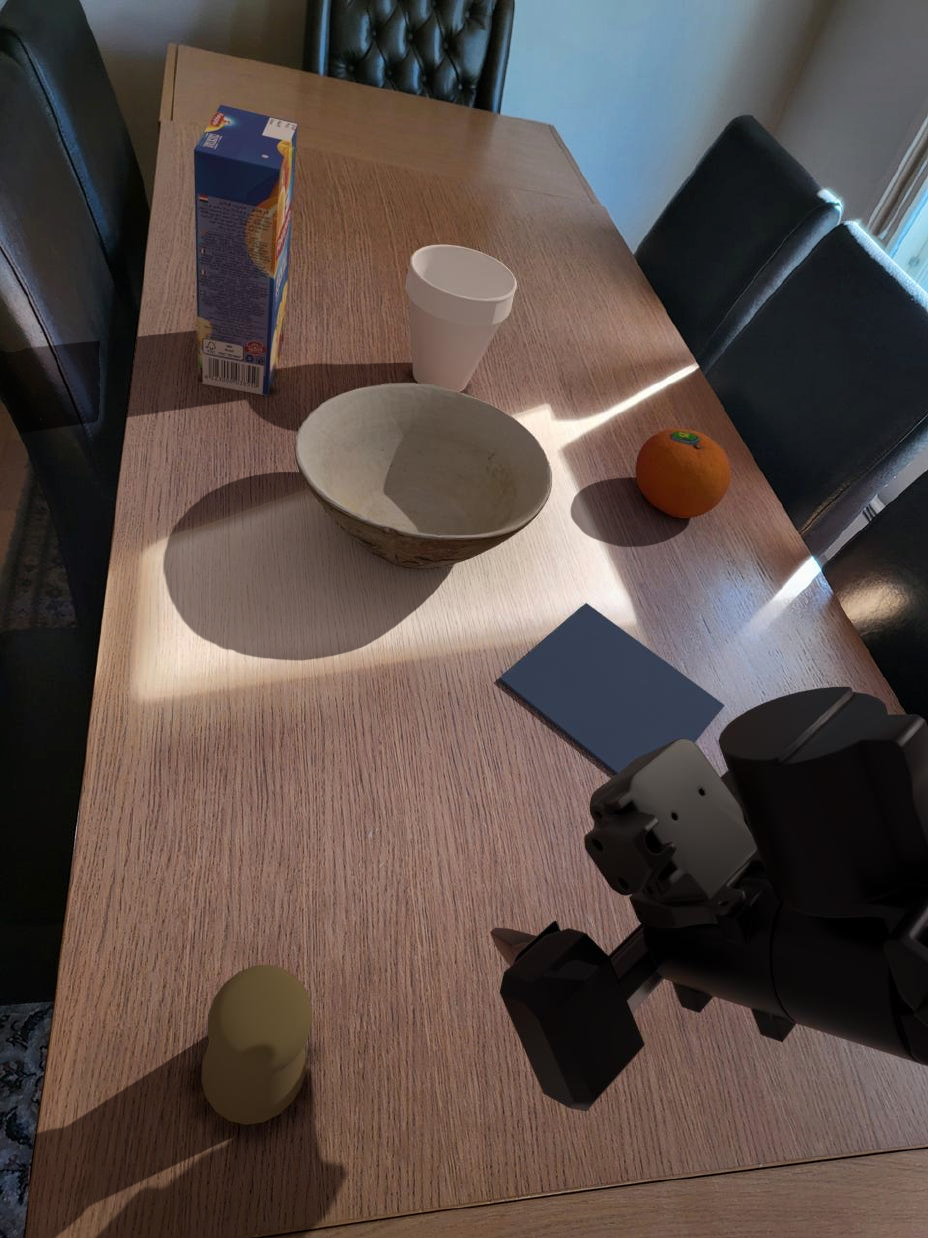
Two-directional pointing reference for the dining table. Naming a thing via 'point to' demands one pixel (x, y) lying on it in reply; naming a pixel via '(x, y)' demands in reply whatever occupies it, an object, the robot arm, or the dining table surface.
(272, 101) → the dining table surface
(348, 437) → the bowl
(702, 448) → the fruit
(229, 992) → the cork
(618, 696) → the book
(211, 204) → the blue cardboard box
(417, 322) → the cup
